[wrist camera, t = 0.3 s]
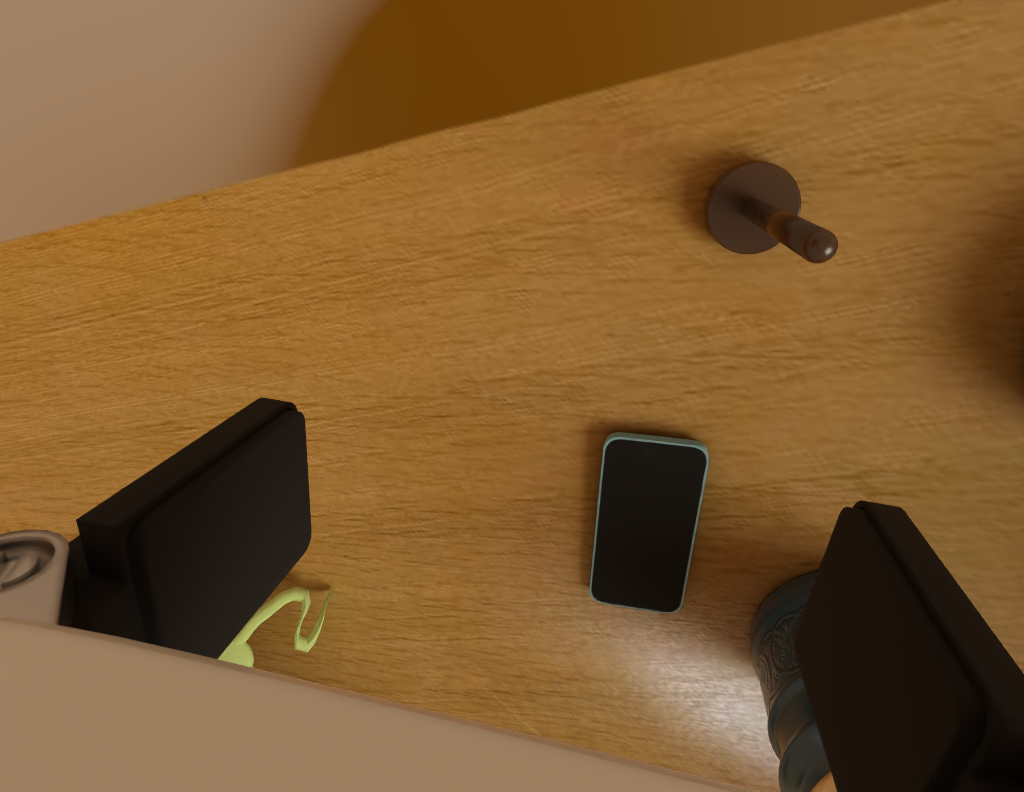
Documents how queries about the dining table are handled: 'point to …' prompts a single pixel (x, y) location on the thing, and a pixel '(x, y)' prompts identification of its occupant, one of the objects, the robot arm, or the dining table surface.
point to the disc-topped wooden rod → (764, 214)
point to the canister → (788, 690)
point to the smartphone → (646, 520)
